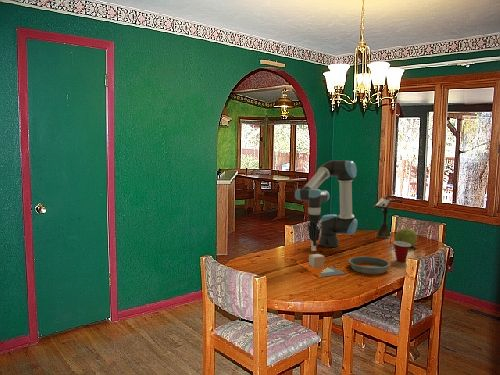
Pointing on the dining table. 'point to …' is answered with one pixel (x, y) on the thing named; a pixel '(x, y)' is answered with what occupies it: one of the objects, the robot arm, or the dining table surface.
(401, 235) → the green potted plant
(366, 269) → the cake pan
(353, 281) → the dining table surface
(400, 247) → the plastic cup
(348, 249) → the dining table surface
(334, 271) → the blue-grey flat triangle
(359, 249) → the dining table surface
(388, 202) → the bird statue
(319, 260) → the cream block
